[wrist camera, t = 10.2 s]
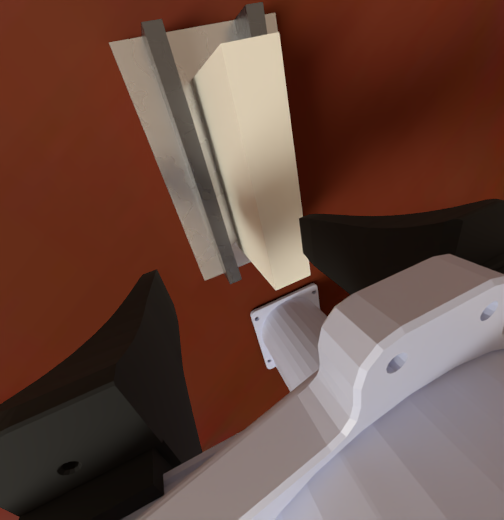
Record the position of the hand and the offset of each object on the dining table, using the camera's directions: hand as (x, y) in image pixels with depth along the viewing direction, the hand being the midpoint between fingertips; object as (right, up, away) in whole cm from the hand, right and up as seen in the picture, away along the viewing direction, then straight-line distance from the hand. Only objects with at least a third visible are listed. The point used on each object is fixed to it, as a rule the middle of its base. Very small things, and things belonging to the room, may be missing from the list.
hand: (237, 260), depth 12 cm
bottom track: (-1, +7, +7) cm, 10 cm away
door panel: (-1, +6, +7) cm, 9 cm away
